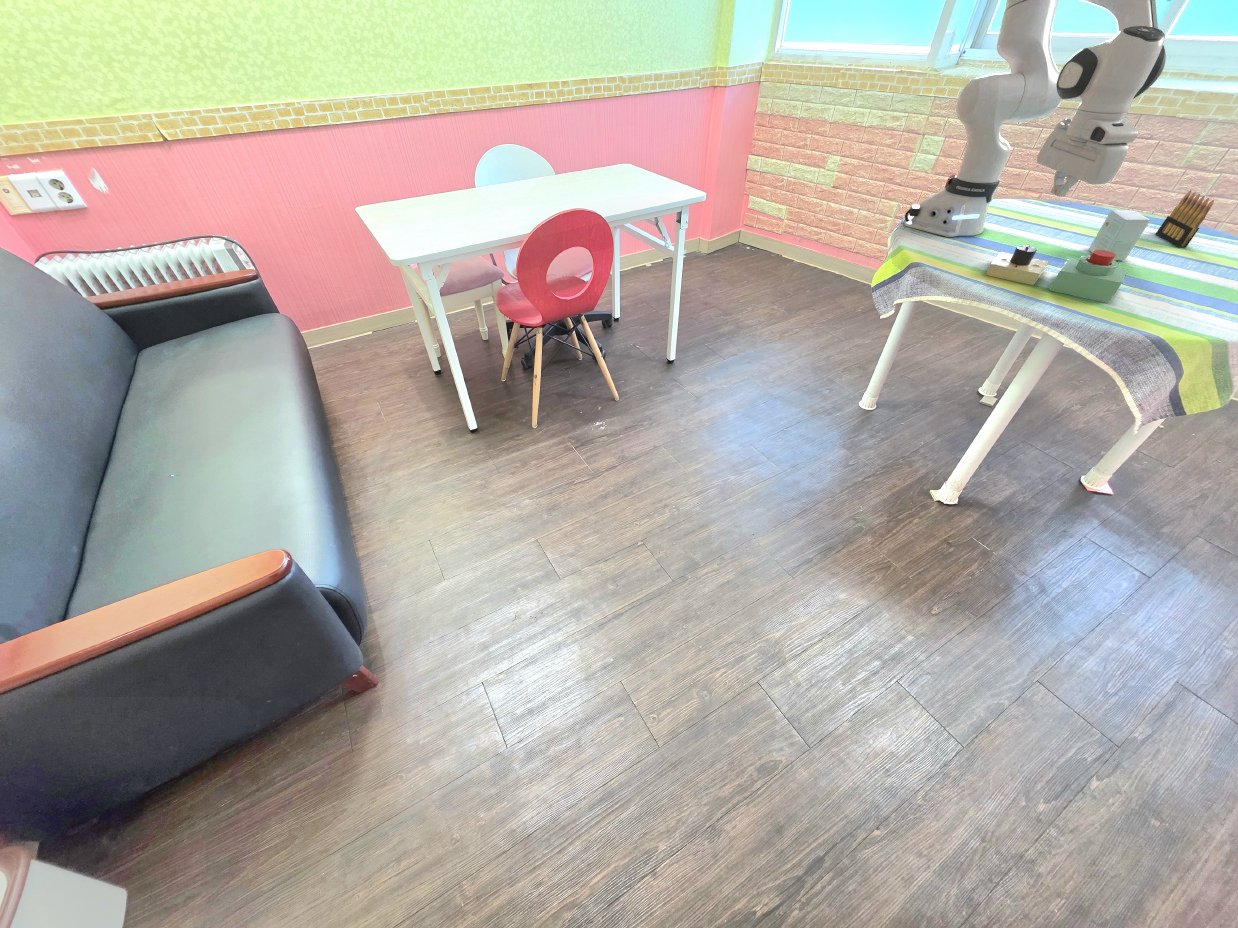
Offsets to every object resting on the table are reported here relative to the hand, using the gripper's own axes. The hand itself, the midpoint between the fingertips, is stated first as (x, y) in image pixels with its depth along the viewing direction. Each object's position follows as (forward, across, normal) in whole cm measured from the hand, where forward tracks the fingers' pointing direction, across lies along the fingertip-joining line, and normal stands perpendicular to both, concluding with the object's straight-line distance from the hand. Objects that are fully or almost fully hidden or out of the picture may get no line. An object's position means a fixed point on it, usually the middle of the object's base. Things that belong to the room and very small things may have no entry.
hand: (1057, 195), depth 118 cm
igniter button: (+12, +11, +10) cm, 19 cm away
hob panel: (+19, 0, 0) cm, 19 cm away
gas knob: (+16, 0, 0) cm, 16 cm away
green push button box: (+19, +11, +10) cm, 24 cm away
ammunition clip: (+19, -15, +54) cm, 59 cm away
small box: (+19, -8, +30) cm, 37 cm away
